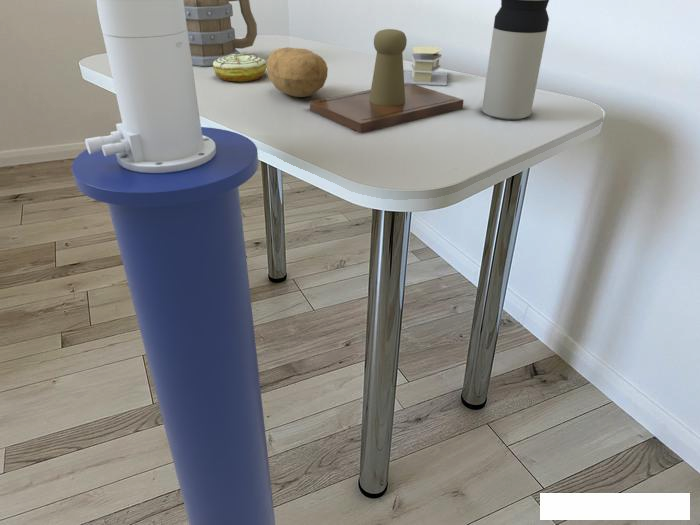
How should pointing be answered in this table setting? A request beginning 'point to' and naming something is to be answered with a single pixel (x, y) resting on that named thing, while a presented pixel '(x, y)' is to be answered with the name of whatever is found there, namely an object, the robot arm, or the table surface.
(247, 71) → the decorated donut
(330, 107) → the cutting board
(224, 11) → the tankard
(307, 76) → the potato
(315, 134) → the table surface
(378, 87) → the olive tapered rounded piece
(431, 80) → the stacked layers on plate
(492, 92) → the travel mug
